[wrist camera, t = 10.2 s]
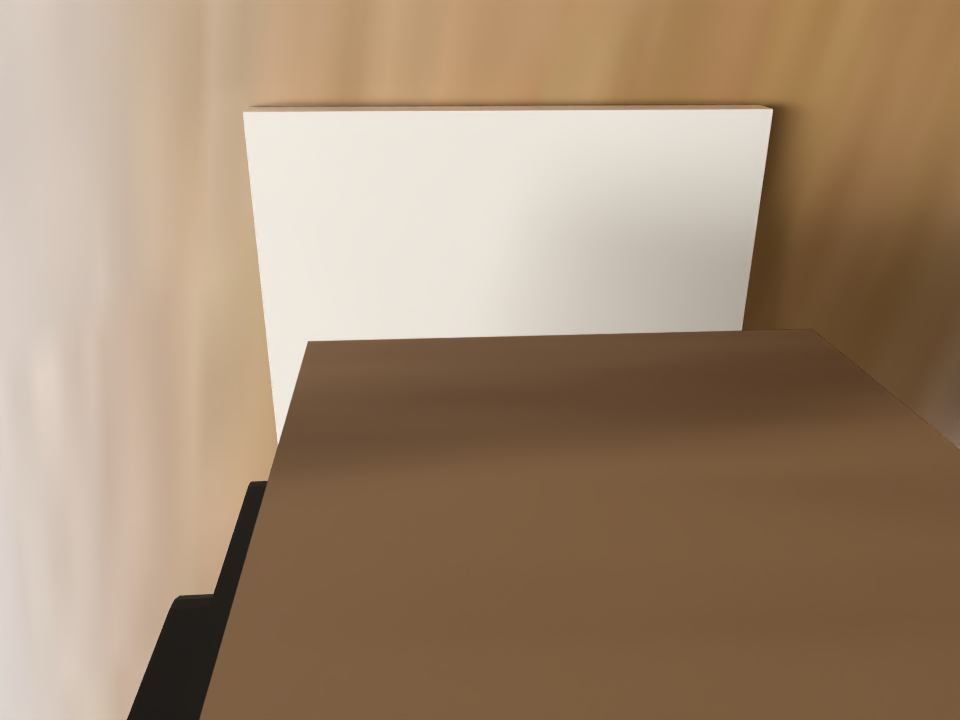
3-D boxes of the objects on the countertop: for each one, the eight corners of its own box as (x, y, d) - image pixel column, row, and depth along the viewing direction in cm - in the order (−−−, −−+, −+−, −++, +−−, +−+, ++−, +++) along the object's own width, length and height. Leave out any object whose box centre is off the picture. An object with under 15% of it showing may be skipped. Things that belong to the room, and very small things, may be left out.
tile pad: (249, 107, 14) (243, 111, 14) (759, 104, 15) (772, 108, 14) (293, 541, 18) (289, 558, 17) (702, 523, 19) (712, 540, 18)
